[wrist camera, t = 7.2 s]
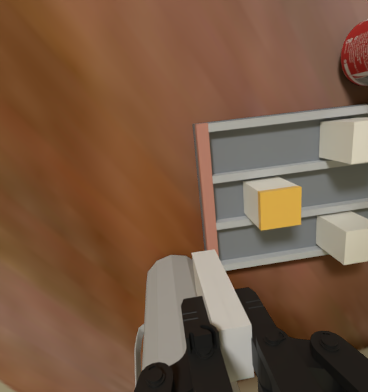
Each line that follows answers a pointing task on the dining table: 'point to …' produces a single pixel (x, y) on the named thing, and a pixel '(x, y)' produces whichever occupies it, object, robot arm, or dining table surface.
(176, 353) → the water bottle
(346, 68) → the beverage can
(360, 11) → the dining table surface
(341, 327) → the dining table surface
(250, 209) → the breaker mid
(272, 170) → the panel
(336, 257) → the block
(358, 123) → the block
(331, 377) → the robot arm
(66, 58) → the dining table surface
